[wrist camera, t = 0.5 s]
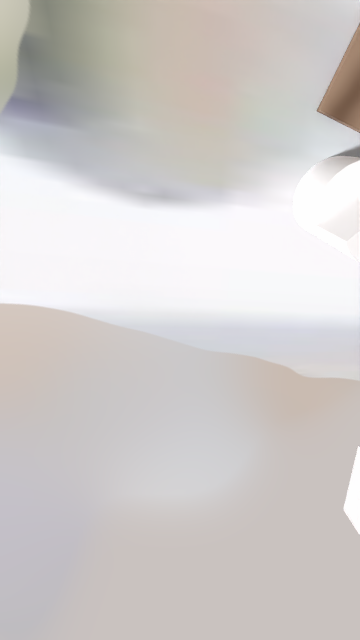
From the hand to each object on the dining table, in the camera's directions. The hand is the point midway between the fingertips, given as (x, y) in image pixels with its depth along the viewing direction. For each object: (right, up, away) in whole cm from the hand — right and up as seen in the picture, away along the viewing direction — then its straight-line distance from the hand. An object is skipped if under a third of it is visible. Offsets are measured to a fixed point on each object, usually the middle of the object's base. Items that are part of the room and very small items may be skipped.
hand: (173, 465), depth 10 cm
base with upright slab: (+19, +21, +25) cm, 38 cm away
